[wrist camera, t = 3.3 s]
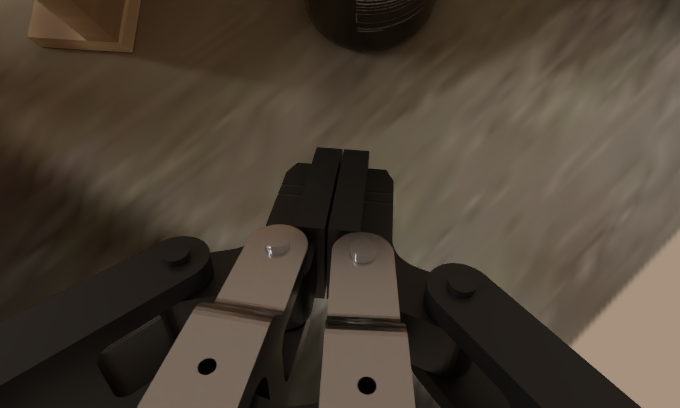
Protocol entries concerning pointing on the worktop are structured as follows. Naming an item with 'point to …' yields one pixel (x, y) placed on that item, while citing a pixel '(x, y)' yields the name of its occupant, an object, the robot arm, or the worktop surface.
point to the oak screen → (85, 24)
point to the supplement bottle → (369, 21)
